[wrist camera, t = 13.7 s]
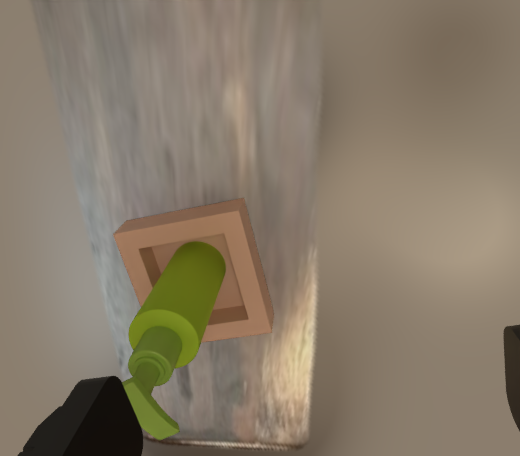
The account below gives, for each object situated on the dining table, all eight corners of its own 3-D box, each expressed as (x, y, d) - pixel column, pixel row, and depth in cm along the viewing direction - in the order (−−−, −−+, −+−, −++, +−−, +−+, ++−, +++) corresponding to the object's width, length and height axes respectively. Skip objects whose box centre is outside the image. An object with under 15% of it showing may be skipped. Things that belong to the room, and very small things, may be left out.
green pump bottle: (198, 304, 51) (135, 455, 33) (161, 256, 50) (74, 387, 31) (241, 282, 50) (201, 428, 31) (205, 231, 48) (140, 355, 30)
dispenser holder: (126, 220, 49) (113, 234, 46) (243, 197, 47) (238, 210, 43) (166, 329, 54) (156, 348, 51) (274, 313, 52) (271, 332, 48)
